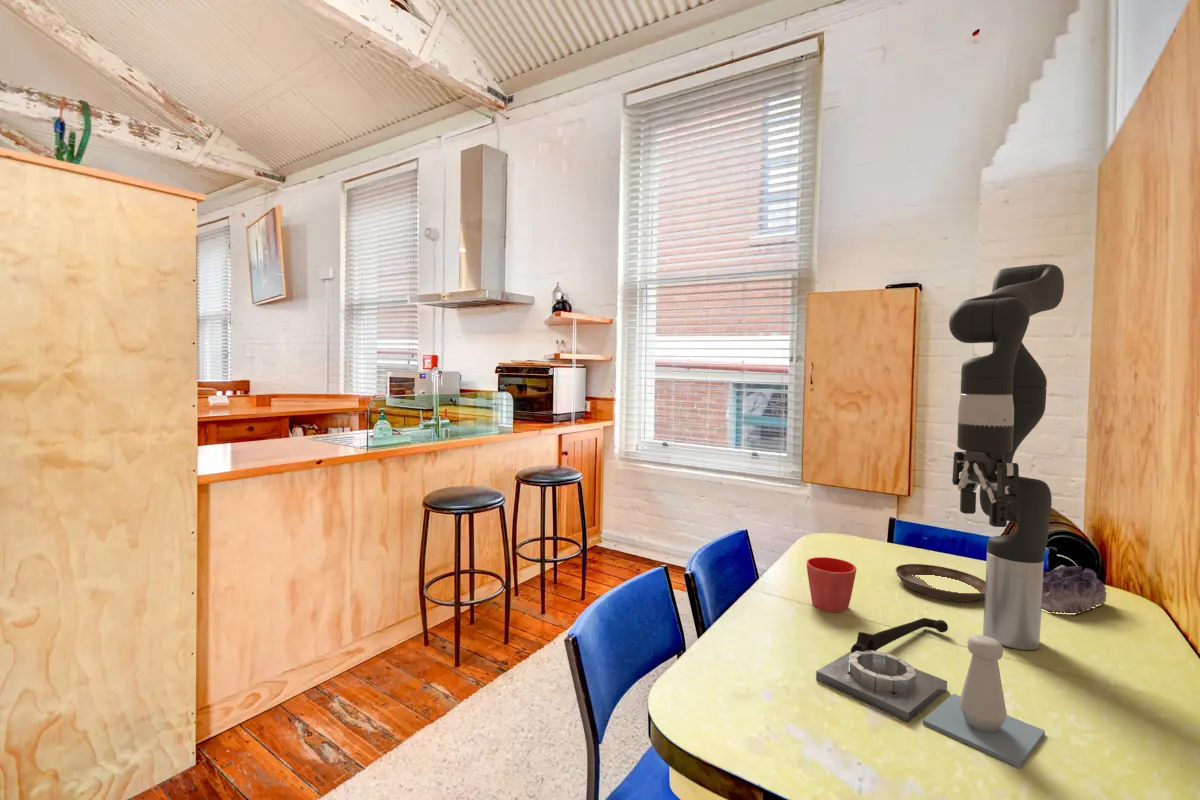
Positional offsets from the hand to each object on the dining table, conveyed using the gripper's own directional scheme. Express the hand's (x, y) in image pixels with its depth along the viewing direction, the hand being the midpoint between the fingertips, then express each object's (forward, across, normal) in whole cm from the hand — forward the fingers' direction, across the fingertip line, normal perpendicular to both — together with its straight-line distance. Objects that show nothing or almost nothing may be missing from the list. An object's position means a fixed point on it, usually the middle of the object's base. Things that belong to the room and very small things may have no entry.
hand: (981, 519), depth 92 cm
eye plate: (+29, 0, +16) cm, 33 cm away
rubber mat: (+29, -11, +5) cm, 31 cm away
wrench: (+29, +13, +6) cm, 32 cm away
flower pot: (+30, +34, +14) cm, 47 cm away
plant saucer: (+31, +49, -18) cm, 61 cm away
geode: (+31, +43, -44) cm, 69 cm away
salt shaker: (+28, -11, +5) cm, 31 cm away
